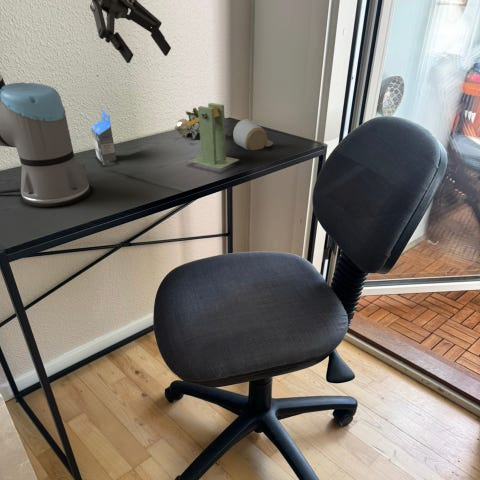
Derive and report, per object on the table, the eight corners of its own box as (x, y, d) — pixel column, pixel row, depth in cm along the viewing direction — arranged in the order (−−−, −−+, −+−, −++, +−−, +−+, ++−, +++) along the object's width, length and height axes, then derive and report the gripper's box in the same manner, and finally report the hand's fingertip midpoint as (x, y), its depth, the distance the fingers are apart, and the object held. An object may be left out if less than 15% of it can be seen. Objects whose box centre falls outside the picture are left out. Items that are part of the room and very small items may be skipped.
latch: (176, 138, 127) (170, 123, 126) (186, 134, 130) (180, 120, 129) (213, 121, 117) (207, 105, 116) (223, 117, 120) (217, 101, 119)
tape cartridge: (96, 157, 134) (87, 111, 126) (109, 155, 135) (101, 109, 128) (104, 166, 127) (94, 118, 120) (118, 164, 129) (110, 116, 121)
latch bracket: (188, 165, 127) (183, 106, 118) (208, 156, 132) (204, 99, 123) (220, 173, 121) (217, 112, 113) (239, 164, 127) (238, 105, 118)
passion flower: (210, 155, 150) (230, 125, 142) (188, 158, 142) (209, 126, 134) (188, 129, 151) (206, 98, 144) (165, 131, 143) (184, 98, 135)
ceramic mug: (246, 155, 132) (246, 127, 128) (232, 148, 138) (232, 120, 133) (278, 150, 136) (279, 122, 132) (263, 143, 142) (264, 116, 137)
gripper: (130, -6, 131) (176, 59, 132) (54, -1, 115) (107, 73, 116) (141, -30, 125) (188, 38, 127) (63, -29, 109) (118, 50, 111)
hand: (150, 55), depth 121 cm, fingers open, 13 cm apart
